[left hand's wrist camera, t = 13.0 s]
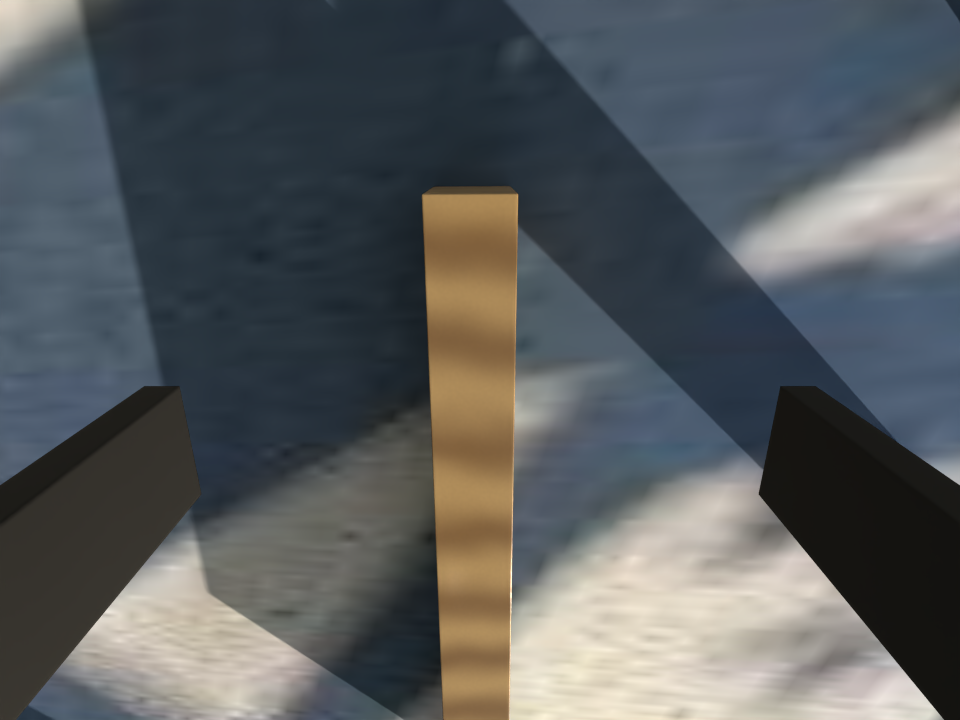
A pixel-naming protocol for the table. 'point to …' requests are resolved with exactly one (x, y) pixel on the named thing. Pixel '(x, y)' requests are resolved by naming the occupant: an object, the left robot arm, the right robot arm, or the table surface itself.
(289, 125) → the table surface
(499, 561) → the beam
